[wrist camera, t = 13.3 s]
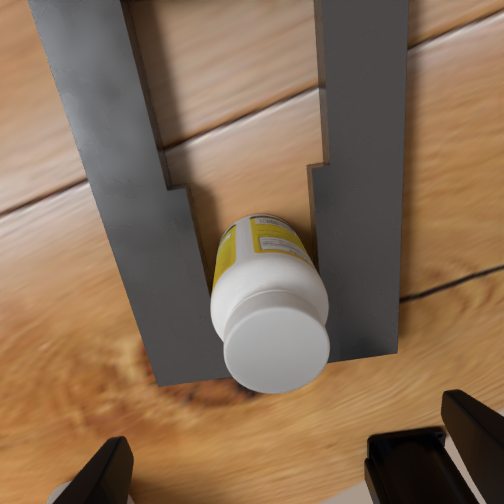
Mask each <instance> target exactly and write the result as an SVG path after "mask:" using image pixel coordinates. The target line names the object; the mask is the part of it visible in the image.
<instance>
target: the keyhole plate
mask: <svg viewBox="0 0 504 504" xmlns="http://www.w3.org/2000/svg"><path fill="white" fill-rule="evenodd" d="M132 1H138V0H28V3H29V6H30V9H31V12H32V15H33V18H34V21H35V24H36V27H37V30H38V33H39V36H40V38H41V41H42V44H43V47H44V50H45V53H46V56H47V59H48V62H49V65H50V68H51V71H52V74H53V77H54V80H55V83H56V86H57V89H58V92H59V95H60V98H61V101H62V104H63V106H64V109H65V112H66V115H67V118H68V121H69V124H70V127H71V130H72V133H73V136H74V139H75V142H76V145H77V148H78V151H79V154H80V157H81V160H82V163H83V166H84V169H85V172H86V174H87V177H88V180H89V183H90V186H91V189H92V192H93V195H94V198H95V201H96V204H97V207H98V210H99V213H100V216H101V219H102V222H103V225H104V228H105V231H106V234H107V237H108V240H109V242H110V245H111V248H112V251H113V254H114V257H115V260H116V263H117V266H118V269H119V272H120V275H121V278H122V281H123V284H124V287H125V290H126V293H127V296H128V299H129V302H130V305H131V307H132V310H133V313H134V316H135V319H136V322H137V325H138V328H139V331H140V334H141V337H142V340H143V343H144V346H145V349H146V352H147V355H148V358H149V361H150V364H151V367H152V370H153V373H154V375H155V378H156V381H157V384H158V387H162V386H169V385H176V384H183V383H190V382H197V381H204V380H211V379H218V378H225V377H232V375H231V373H230V372H229V370H228V368H227V366H226V363H225V360H224V342H223V341H222V340H221V338H220V337H219V335H218V334H217V332H216V330H215V328H214V325H213V323H212V318H211V295H212V285H211V281H210V276H209V272H208V267H207V263H206V258H205V253H204V249H203V244H202V240H201V235H200V231H199V226H198V222H197V217H196V213H195V208H194V204H193V199H192V195H191V190H190V185H189V183H188V184H181V185H175V186H172V182H171V178H170V174H169V170H168V166H167V161H166V157H165V153H164V149H163V145H162V141H161V137H160V132H159V128H158V124H157V120H156V116H155V112H154V107H153V103H152V99H151V95H150V91H149V87H148V83H147V78H146V74H145V70H144V66H143V62H142V58H141V54H140V49H139V45H138V41H137V37H136V33H135V29H134V25H133V20H132V16H131V12H130V8H129V4H128V2H132ZM408 10H409V0H314V13H315V30H316V46H317V63H318V80H319V96H320V113H321V129H322V146H323V163H316V164H310V165H307V177H308V190H309V202H310V215H311V227H312V240H313V252H314V265H315V269H316V270H317V272H318V274H319V276H320V278H321V280H322V282H323V284H324V287H325V289H326V292H327V296H328V303H329V310H328V317H327V320H326V323H325V328H326V331H327V334H328V337H329V342H330V353H329V358H328V361H327V363H332V362H339V361H346V360H353V359H360V358H367V357H374V356H381V355H388V354H395V353H397V351H398V320H399V289H400V258H401V227H402V196H403V165H404V134H405V103H406V72H407V41H408Z"/></svg>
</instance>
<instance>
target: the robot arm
mask: <svg viewBox="0 0 504 504" xmlns="http://www.w3.org/2000/svg"><path fill="white" fill-rule="evenodd" d="M441 416H442V420H443V422H444V424H445V426H446V428H447V430H448V432H449V434H450V436H451V438H452V440H453V442H454V444H455V446H456V448H457V450H458V452H459V454H460V456H461V458H462V460H463V462H464V464H465V466H466V468H467V470H468V472H469V474H470V476H471V478H472V480H473V482H474V483H475V485H476V487H477V488H478V490H479V492H480V494H481V495H482V497H483V498H484V500H485V502H486V503H487V504H504V417H503V416H501V415H500V414H499V413H497V412H495V411H494V410H492V409H491V408H489V407H487V406H486V405H484V404H483V403H481V402H479V401H478V400H476V399H475V398H473V397H471V396H470V395H468V394H467V393H465V392H463V391H462V390H459V389H455V390H448V391H444V393H443V396H442V405H441ZM445 438H446V433H445V432H444V430H443V429H442V428H440V427H437V428H429V429H422V430H415V431H407V432H400V433H392V434H385V435H378V436H372V437H369V438H368V440H367V458H366V459H365V461H364V466H365V481H366V484H367V487H368V489H369V492H370V495H371V498H372V501H373V504H479V502H478V501H477V499H476V498H475V496H474V494H473V493H472V491H471V489H470V488H469V487H468V485H467V483H466V481H465V480H464V478H463V477H462V475H461V473H460V472H459V470H458V469H457V467H456V465H455V464H454V462H453V461H452V459H451V457H450V456H449V454H448V453H447V451H446V449H445V448H444V446H445ZM133 464H134V457H133V453H132V451H131V449H130V446H129V444H128V442H127V439H126V438H125V437H124V436H118V437H112V438H110V439H108V440H107V441H106V442H105V443H104V445H103V446H102V447H101V448H100V449H99V450H98V451H97V453H96V454H95V455H94V456H93V457H92V458H91V459H90V461H89V462H88V463H87V464H86V465H85V466H84V467H83V469H82V470H81V471H80V472H79V473H78V474H77V475H76V477H75V478H74V479H73V480H72V481H71V482H70V483H69V485H68V486H67V487H66V488H65V489H64V490H63V491H62V493H61V494H60V495H59V496H58V497H57V498H56V499H55V501H54V502H53V503H52V504H127V501H128V495H129V489H130V482H131V476H132V470H133Z"/></svg>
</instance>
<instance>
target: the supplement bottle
mask: <svg viewBox="0 0 504 504" xmlns="http://www.w3.org/2000/svg"><path fill="white" fill-rule="evenodd" d="M328 310H329V303H328V296H327V292H326V289H325V287H324V284H323V282H322V280H321V278H320V276H319V274H318V272H317V270H316V269H315V267H314V265H313V263H312V261H311V259H310V257H309V255H308V253H307V252H306V250H305V248H304V246H303V244H302V242H301V240H300V239H299V237H298V235H297V234H296V232H295V231H294V230H293V228H292V227H291V226H290V225H289V224H288V223H286V222H285V221H283V220H282V219H280V218H277V217H275V216H271V215H266V214H255V215H250V216H246V217H244V218H241V219H240V220H238V221H236V222H235V223H233V224H232V225H231V226H230V227H229V228H228V229H227V230H226V232H225V233H224V235H223V236H222V238H221V240H220V243H219V247H218V252H217V259H216V267H215V274H214V282H213V289H212V295H211V318H212V323H213V325H214V328H215V330H216V332H217V334H218V335H219V337H220V338H221V340H222V341H223V342H224V360H225V363H226V366H227V368H228V370H229V372H230V373H231V375H232V376H233V377H234V378H235V379H236V380H237V381H238V382H239V383H240V384H242V385H243V386H245V387H247V388H249V389H251V390H254V391H258V392H262V393H270V394H276V393H285V392H289V391H293V390H296V389H299V388H301V387H303V386H305V385H307V384H308V383H310V382H311V381H313V380H314V379H315V378H316V377H317V376H318V375H319V374H320V373H321V371H322V370H323V369H324V367H325V365H326V363H327V361H328V358H329V353H330V342H329V337H328V334H327V331H326V328H325V323H326V320H327V317H328Z"/></svg>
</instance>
